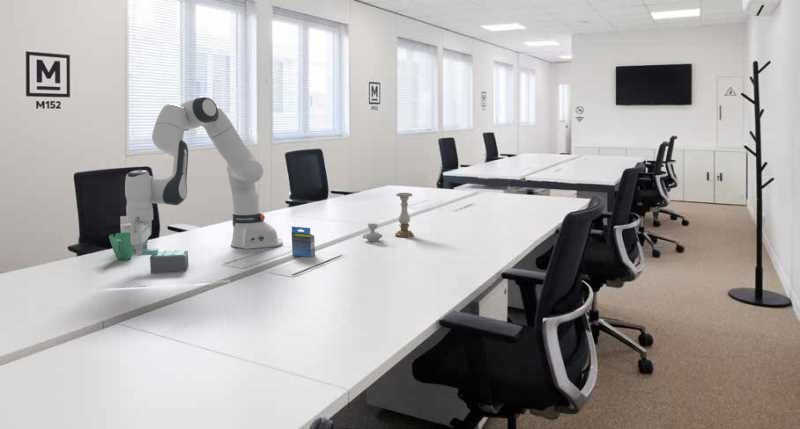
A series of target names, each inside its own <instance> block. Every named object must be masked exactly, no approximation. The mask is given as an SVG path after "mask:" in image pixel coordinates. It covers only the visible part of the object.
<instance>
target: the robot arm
mask: <svg viewBox="0 0 800 429" xmlns="http://www.w3.org/2000/svg"><path fill="white" fill-rule="evenodd" d="M199 127H203V128H204V130H205V132H206V134H207V136H208V137H209V139H210V140H211V142H212V144H213V146H214V147H215V148H216V150H217V152H218V153H219V155H220V156H221V157H222V158H223V159H224V160H225V161H226V163H227V164H226V172H227V175H228V179H229V180H228V181H229V186H230V191H231V194H232V195H231V196H232V212H233V213H232V216H231V222H232V223H231V224H232V227H233V231H232V239H231V243H230V246H231V247H234V248H238V249H240V248H241V249H244V250H249V249H261V248H271V247H274V248H275V247H280V246H282V245H283V244H284V243H283V240H282V239H281V238H278V233H277V230H276V229H275V227H273V226H271V225H270V224H269V223H267V222H266V221H264V220H265V218H266V217H265V215H264V214H263V213H261V212H260V207H259V204H260V203H259V194H258V191H257V188H256V184H255V183H256V182H258V181H260V180H261V179H262V177H263V175H264V168H263V165H262V164H261V163H260V162H259V161H258V159H256V158H257V157H255V155H254V154H253V153H252V151H251V150H250V149H249V148H248V146H247V145H246V143H244V141H243V140H242V138H241V136H240V135H239V132H238V131H237V129H236V128H235V126H234V125H233V123H232V121H231V120H230V118H229V117H228V116H227V114H226V112H224V111H223V110H222V109H221V108H220V107H219V106H217V104H216V103H215V101H214V100H213V99H212V98H210V97H208V96H198V97H196V98H191V99H188V100H186V101H185V102H183V103H180V104H179V105H178V104H176V103H167V104H165V105H163V107H162V108H161V110H160V112H159V113H158V115H157V118H156V121H155V123H154V127H153V129H152V134H151V135H152V136H151V139H152V143H153V144H154V145H155V147H156V148H157V149H158V150H160V151H161V152H163V153H165V154H167V155H170V156H171V157H173V163H172V164H173V166H172V175H171V176H170V177H154V176H152V175H150V173H149V171H148V170H146V169H136V170H132V171H129V172H128V173H126V176H125V182H124V184H125V185H124V194H125V195H124V196H125V199H126V207H125V209H126V210H125V211H126V216H127V221H129V222H131V226H130V240H131V245H135V249H136V253H137V254H136V256H137V257H141V256H143V255H142V254H143V251H142V249H148V242H149V237H150V236H152V226H153V223H152V221H153V220H154V211H153V210H154V208H153V204H159V205H160V204H161V205H163V204H164V205H170V206H178V205H181V203H183V202H184V201H185V199H186V198H187V195H188V187H187V186H188V185H187V178H188V177H187V176H188V162H189V148H188V145H187V143H186V142H185V141H184V134H185V132H186V131H190V130H192V129H195V128H196V129H197V128H199ZM282 243H283V244H282Z"/></svg>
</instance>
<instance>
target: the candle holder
mask: <svg viewBox="0 0 800 429" xmlns="http://www.w3.org/2000/svg"><path fill="white" fill-rule="evenodd" d="M395 196H396V197H399V199H400V201H401V203H400V206H401V212H400V215H399V216H398V222H399V223H400V224H399V228H400V230H397V231H396V233H395V234H394V235H395V237H398V238H412V237H414V232H412V230H409V227H410V224H409V223H410V221H411V217H410V214H409V212H408V205H409V203H408V200H409V199H410V197H412V196H413V193H411V192H399V193H396V194H395Z"/></svg>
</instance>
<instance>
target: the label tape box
mask: <svg viewBox="0 0 800 429" xmlns="http://www.w3.org/2000/svg"><path fill="white" fill-rule="evenodd" d="M315 245H316V244H315V235H313V234H311V227H302V226H301V227H300V226H291V250H292V251H291V252H292V256H293V257H305V258H306V257H308V258H309V257H310V258H312V257H314V256H315V255H316V246H315Z"/></svg>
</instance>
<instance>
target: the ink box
mask: <svg viewBox="0 0 800 429" xmlns="http://www.w3.org/2000/svg"><path fill="white" fill-rule="evenodd" d="M119 219H120V233H130V226H131V222H129V221H127V215H123V216H122V215H121V216H120V217H119ZM135 251H136V249H135V246H134V250H133V252H135Z"/></svg>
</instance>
